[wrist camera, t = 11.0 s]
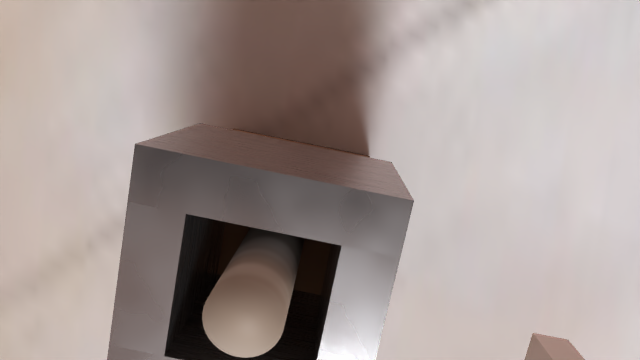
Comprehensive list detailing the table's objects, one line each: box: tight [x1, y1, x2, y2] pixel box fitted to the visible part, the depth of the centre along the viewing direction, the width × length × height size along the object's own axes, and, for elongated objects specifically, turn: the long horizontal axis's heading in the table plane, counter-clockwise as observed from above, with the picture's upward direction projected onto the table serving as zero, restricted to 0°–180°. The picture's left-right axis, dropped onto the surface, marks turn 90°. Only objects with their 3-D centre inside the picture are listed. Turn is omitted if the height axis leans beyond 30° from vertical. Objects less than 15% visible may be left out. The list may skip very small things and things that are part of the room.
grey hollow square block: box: [107, 123, 414, 360], centre depth 17 cm, size 7×7×6 cm
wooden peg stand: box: [202, 129, 370, 358], centre depth 18 cm, size 6×6×11 cm
